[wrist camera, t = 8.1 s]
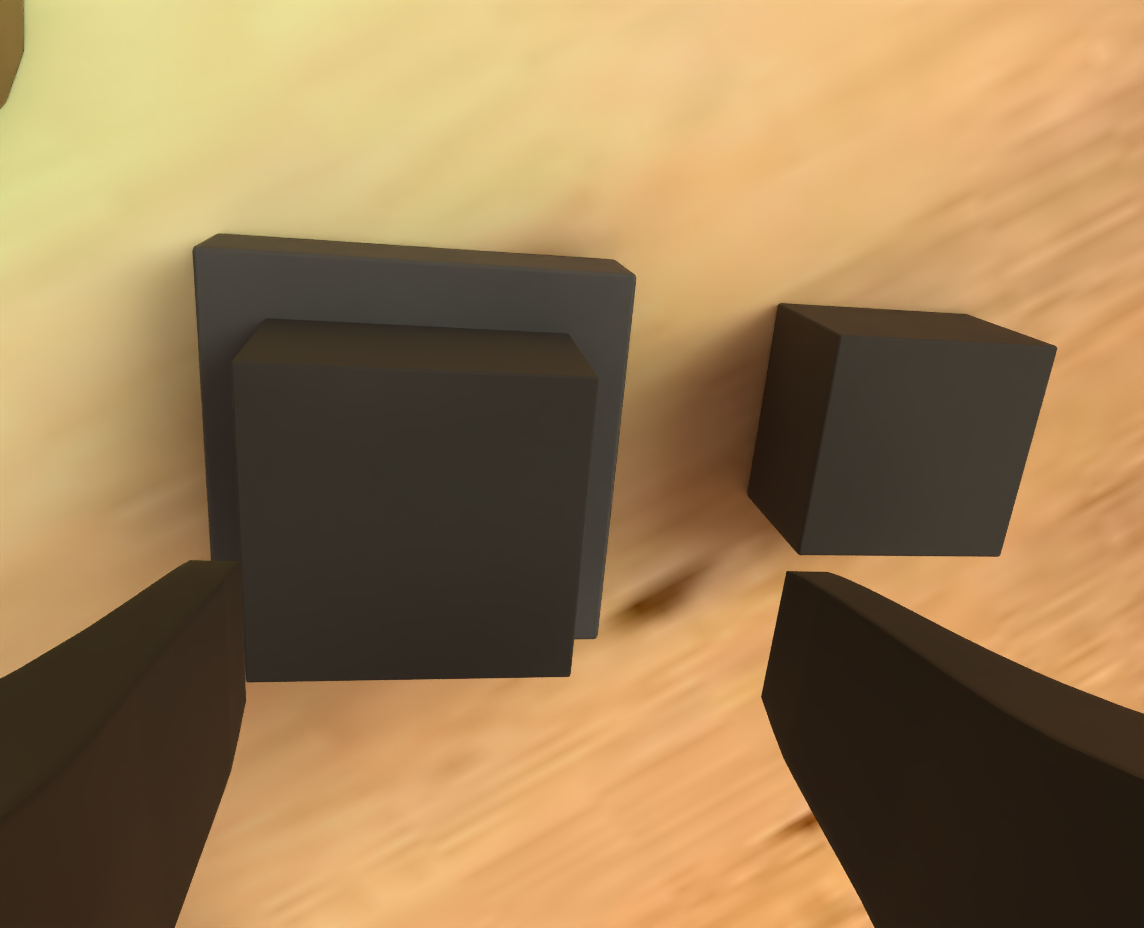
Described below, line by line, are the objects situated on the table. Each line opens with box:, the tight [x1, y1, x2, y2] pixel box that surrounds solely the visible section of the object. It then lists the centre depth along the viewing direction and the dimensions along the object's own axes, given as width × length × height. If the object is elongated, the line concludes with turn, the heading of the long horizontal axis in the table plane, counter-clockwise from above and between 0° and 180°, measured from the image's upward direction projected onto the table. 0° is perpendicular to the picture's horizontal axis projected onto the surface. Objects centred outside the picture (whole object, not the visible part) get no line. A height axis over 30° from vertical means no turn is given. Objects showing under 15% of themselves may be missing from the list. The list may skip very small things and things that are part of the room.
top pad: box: [747, 303, 1057, 557], centre depth 19 cm, size 5×5×3 cm
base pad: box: [193, 234, 636, 639], centre depth 19 cm, size 8×8×2 cm
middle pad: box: [230, 318, 599, 682], centre depth 16 cm, size 6×6×3 cm
